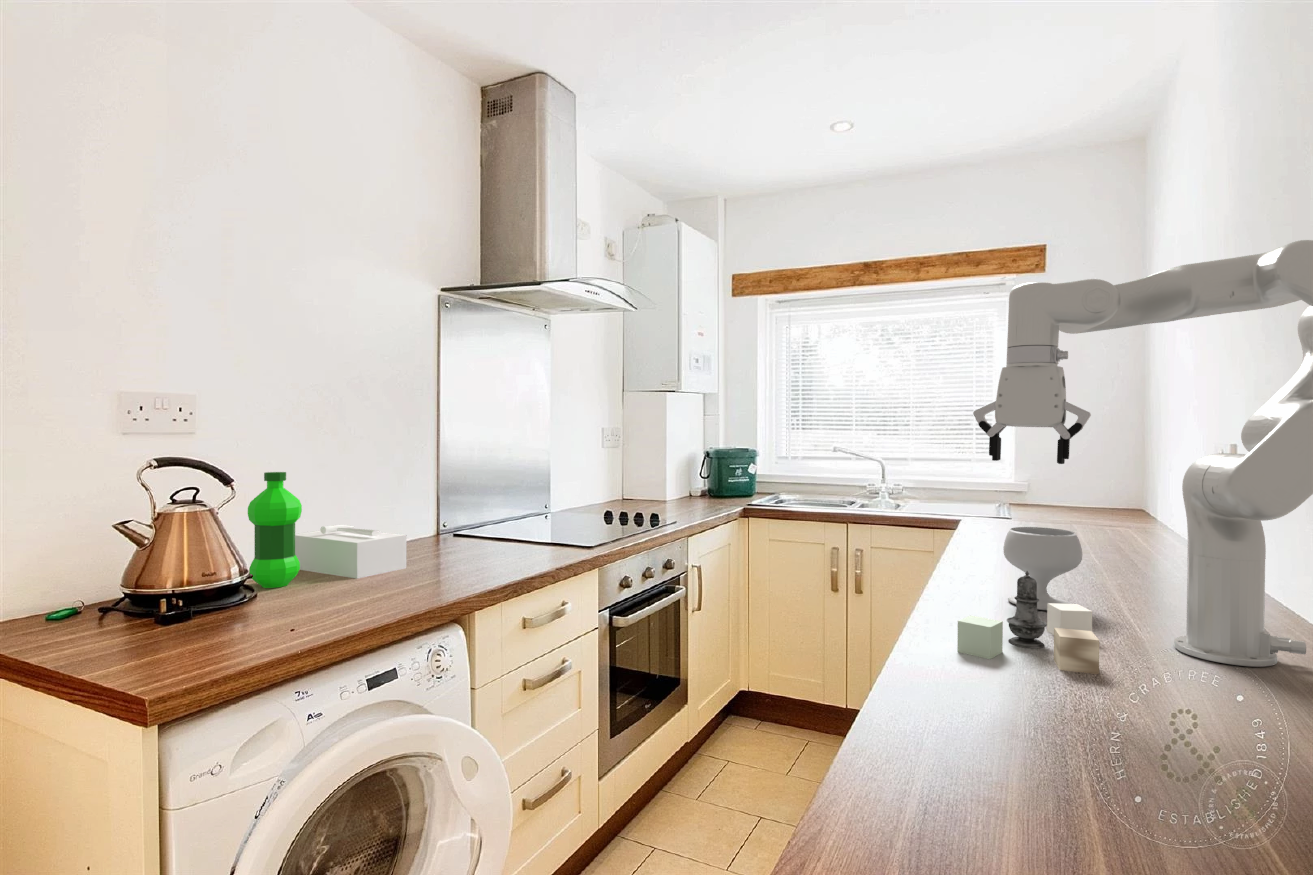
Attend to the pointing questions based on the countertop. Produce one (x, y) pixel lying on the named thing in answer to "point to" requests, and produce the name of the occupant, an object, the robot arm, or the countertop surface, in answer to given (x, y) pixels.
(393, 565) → the tissue box
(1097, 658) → the beech cube
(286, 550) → the plastic bottle
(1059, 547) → the chalice
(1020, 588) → the salt shaker
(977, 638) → the sage painted cube
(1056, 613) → the cream painted cube
